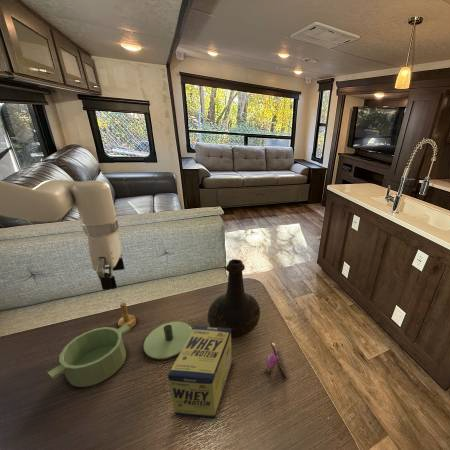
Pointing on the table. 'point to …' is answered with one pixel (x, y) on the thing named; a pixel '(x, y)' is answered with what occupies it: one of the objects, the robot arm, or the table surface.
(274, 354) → the purple flower twig
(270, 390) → the table surface
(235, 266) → the glass bottle
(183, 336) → the pot lid
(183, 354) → the protein box
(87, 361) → the pot
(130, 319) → the disc with rod handle
